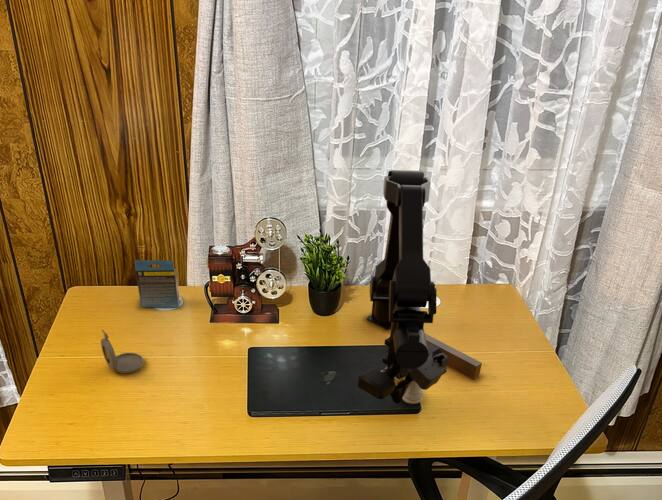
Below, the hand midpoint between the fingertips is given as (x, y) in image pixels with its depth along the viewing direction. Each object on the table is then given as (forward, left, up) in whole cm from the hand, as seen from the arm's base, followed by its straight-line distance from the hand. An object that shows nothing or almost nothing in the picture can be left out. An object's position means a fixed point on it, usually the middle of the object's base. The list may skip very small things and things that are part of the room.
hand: (396, 402), depth 150 cm
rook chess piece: (0, +5, -2) cm, 5 cm away
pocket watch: (-49, -32, -2) cm, 58 cm away
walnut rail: (-5, +20, -2) cm, 21 cm away
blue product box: (-64, -11, -2) cm, 65 cm away
